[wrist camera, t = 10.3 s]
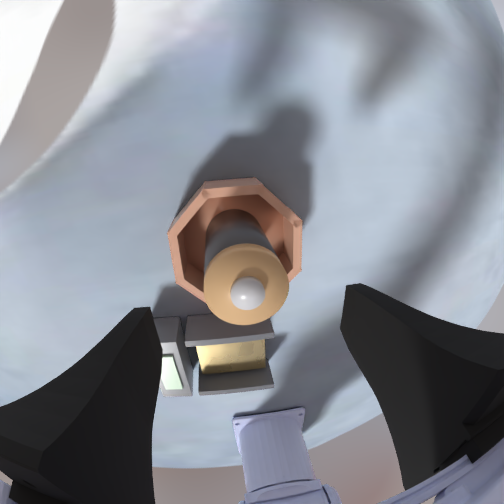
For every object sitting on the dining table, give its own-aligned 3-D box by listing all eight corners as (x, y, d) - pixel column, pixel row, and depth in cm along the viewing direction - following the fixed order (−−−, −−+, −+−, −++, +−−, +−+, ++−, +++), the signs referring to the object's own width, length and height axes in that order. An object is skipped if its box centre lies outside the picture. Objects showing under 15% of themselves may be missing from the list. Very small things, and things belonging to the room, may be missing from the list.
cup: (289, 279, 20) (300, 301, 17) (185, 290, 19) (182, 314, 17) (288, 174, 17) (302, 181, 14) (169, 184, 16) (161, 193, 14)
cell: (262, 259, 19) (290, 324, 12) (208, 264, 18) (209, 334, 12) (261, 206, 17) (292, 250, 11) (203, 211, 17) (198, 259, 10)
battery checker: (267, 362, 23) (274, 389, 20) (167, 371, 22) (163, 398, 19) (266, 308, 21) (274, 334, 18) (149, 318, 20) (142, 345, 17)
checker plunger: (263, 361, 22) (265, 367, 22) (202, 367, 22) (202, 374, 21) (262, 322, 21) (264, 329, 20) (194, 329, 20) (193, 336, 19)
